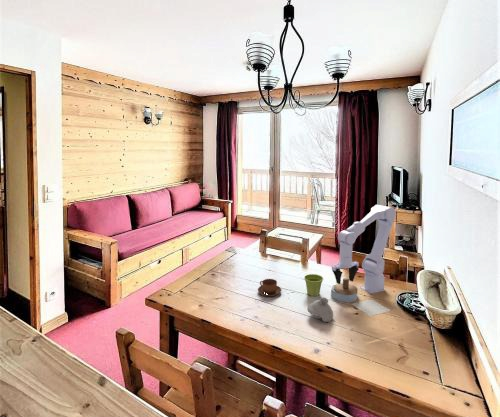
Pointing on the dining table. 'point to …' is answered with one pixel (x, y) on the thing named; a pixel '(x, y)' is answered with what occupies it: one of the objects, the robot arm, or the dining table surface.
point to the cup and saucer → (269, 287)
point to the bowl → (343, 296)
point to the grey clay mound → (321, 310)
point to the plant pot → (313, 284)
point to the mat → (371, 307)
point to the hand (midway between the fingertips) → (344, 282)
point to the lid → (345, 288)
